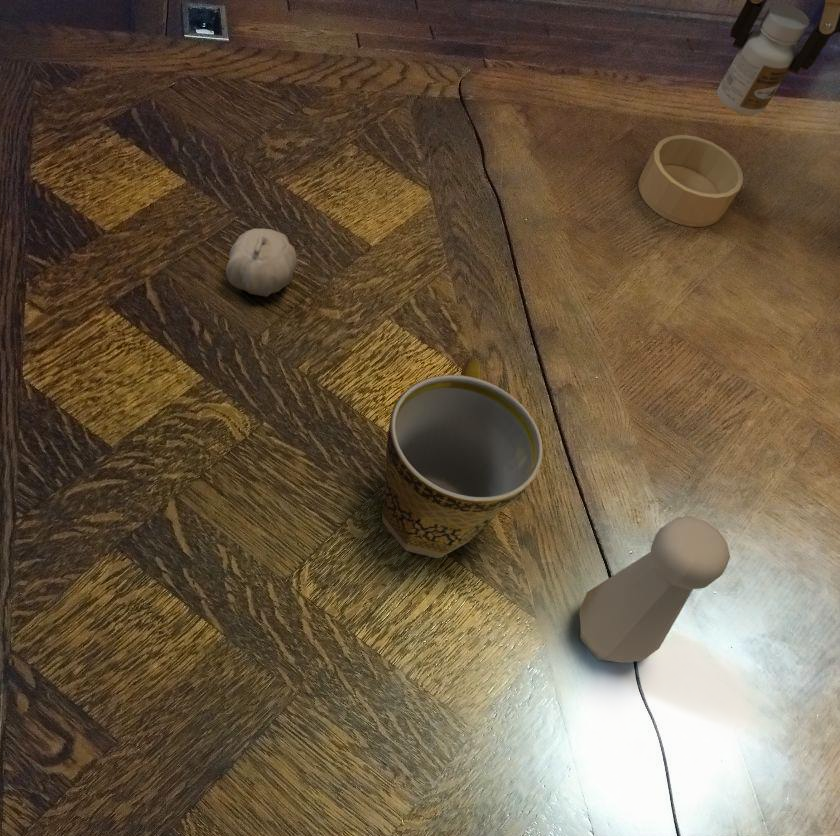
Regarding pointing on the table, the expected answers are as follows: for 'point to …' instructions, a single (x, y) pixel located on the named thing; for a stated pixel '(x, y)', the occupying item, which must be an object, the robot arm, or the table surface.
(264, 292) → the garlic
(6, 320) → the table surface
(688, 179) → the tan round bowl
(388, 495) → the ceramic cup
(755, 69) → the pill bottle
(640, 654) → the salt shaker
